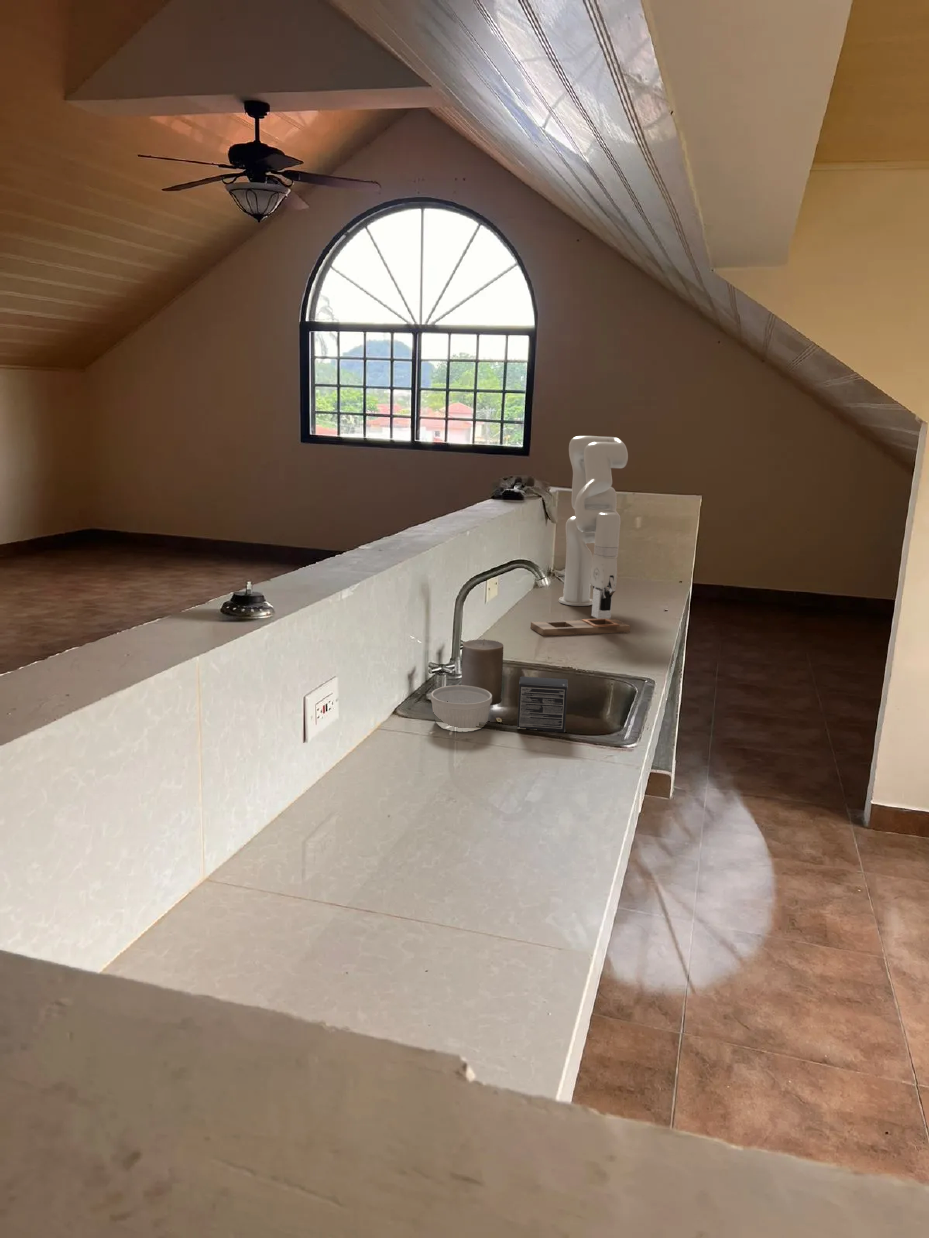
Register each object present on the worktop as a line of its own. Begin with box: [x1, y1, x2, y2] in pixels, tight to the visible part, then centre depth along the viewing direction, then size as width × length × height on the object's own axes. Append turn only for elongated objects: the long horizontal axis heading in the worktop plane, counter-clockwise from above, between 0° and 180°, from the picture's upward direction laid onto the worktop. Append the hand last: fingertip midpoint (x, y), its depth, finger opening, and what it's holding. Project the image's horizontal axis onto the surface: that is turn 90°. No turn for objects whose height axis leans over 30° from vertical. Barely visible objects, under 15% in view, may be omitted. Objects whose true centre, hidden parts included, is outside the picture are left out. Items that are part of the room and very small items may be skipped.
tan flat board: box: [530, 618, 631, 637], centre depth 287 cm, size 10×30×2 cm, turn 108°
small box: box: [516, 676, 569, 733], centre depth 197 cm, size 11×6×10 cm, turn 84°
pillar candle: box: [461, 638, 504, 706], centre depth 212 cm, size 10×10×15 cm
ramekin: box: [430, 684, 492, 728], centre depth 196 cm, size 13×13×7 cm
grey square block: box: [591, 588, 613, 619], centre depth 288 cm, size 4×4×9 cm
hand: (601, 608), depth 288 cm, fingers closed on grey square block, 4 cm apart
